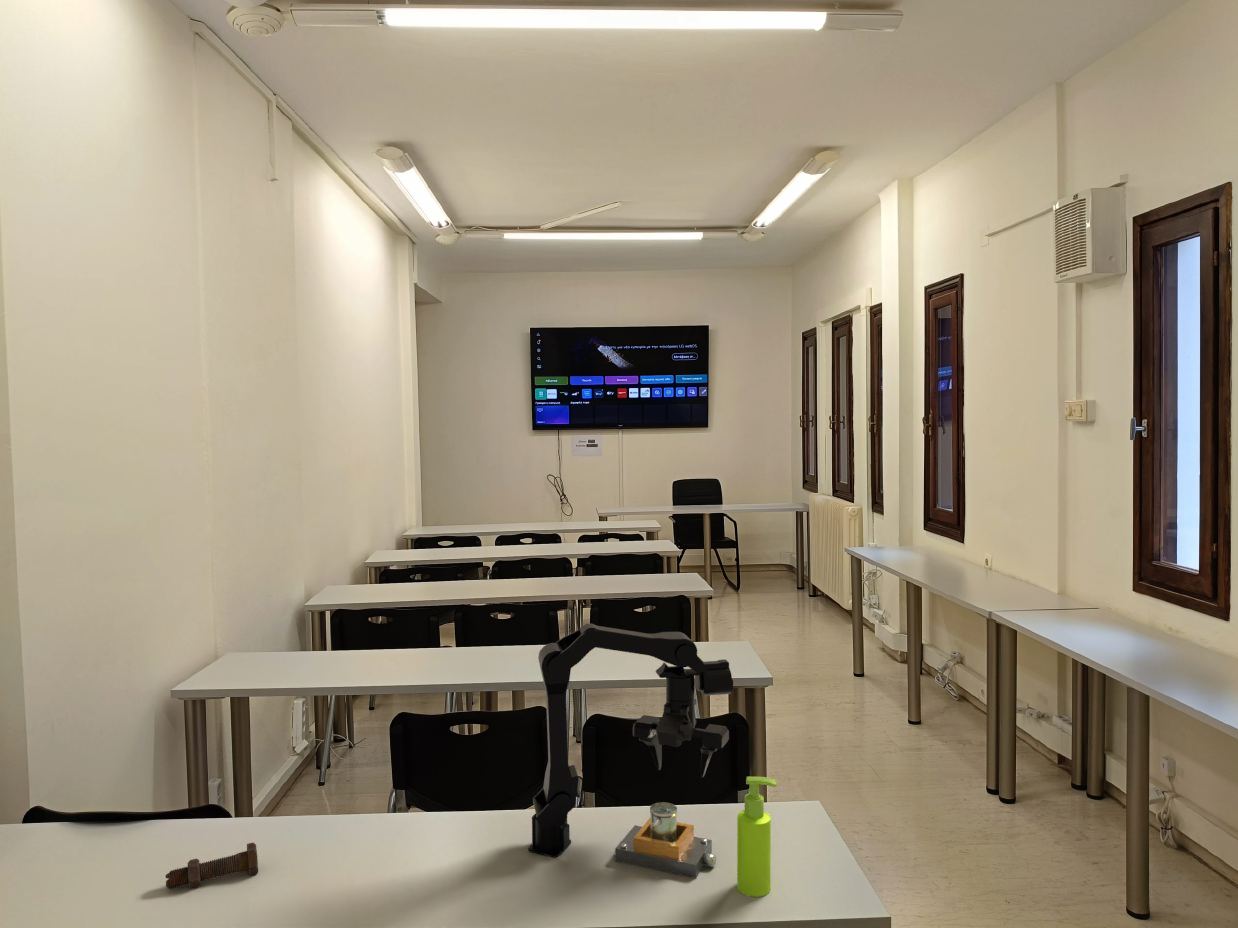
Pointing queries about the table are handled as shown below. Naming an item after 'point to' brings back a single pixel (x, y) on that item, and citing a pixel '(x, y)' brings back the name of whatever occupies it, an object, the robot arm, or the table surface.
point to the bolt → (214, 868)
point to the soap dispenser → (754, 842)
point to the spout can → (663, 822)
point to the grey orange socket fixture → (666, 851)
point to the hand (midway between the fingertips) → (680, 772)
